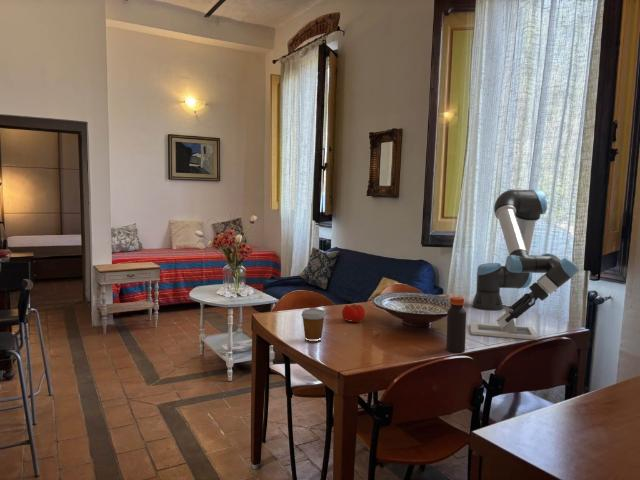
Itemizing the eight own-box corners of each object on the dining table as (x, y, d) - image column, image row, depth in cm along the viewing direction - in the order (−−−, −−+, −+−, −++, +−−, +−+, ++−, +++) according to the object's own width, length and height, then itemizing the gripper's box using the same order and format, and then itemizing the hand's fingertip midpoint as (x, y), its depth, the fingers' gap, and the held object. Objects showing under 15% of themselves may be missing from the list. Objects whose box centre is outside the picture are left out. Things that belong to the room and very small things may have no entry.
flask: (519, 335, 193) (520, 311, 192) (501, 334, 194) (501, 311, 194) (515, 330, 200) (516, 307, 199) (498, 329, 202) (498, 307, 201)
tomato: (346, 324, 209) (346, 308, 209) (339, 318, 220) (339, 303, 219) (368, 323, 212) (368, 307, 211) (360, 317, 222) (361, 302, 222)
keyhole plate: (469, 325, 210) (470, 321, 210) (532, 330, 202) (532, 326, 202) (471, 334, 194) (471, 331, 194) (538, 340, 187) (538, 336, 187)
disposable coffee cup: (327, 344, 181) (327, 313, 180) (302, 345, 179) (303, 314, 178) (322, 336, 190) (323, 308, 189) (300, 337, 189) (300, 309, 188)
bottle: (467, 353, 171) (469, 300, 169) (449, 353, 170) (451, 300, 169) (460, 347, 178) (462, 296, 176) (443, 347, 177) (445, 296, 175)
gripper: (553, 299, 183) (507, 336, 189) (545, 290, 200) (503, 325, 206) (539, 285, 184) (494, 322, 190) (532, 278, 201) (491, 313, 207)
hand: (499, 324), depth 198 cm, fingers closed on flask, 4 cm apart
